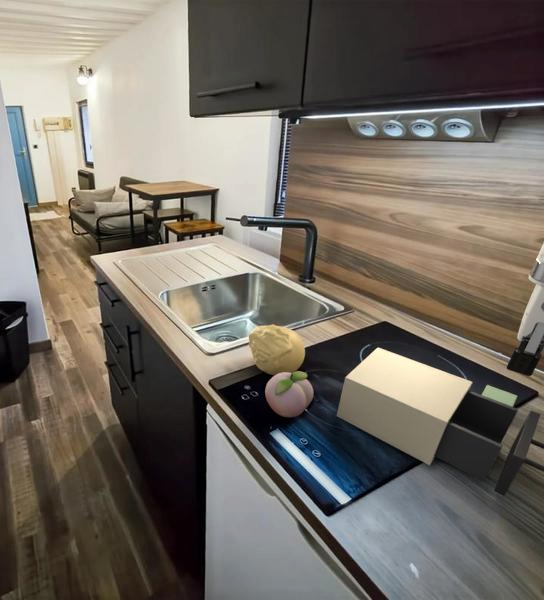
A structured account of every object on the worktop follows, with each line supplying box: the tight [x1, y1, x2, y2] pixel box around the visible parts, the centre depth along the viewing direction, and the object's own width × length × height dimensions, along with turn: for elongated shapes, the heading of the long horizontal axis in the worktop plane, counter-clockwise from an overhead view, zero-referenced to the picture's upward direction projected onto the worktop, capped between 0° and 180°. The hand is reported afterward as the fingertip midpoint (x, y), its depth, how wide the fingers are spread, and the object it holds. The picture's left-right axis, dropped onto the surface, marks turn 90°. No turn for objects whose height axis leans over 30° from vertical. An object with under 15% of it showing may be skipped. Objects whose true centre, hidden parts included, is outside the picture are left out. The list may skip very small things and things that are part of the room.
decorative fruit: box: [264, 370, 314, 418], centre depth 71 cm, size 9×8×10 cm
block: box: [481, 384, 518, 407], centre depth 70 cm, size 4×4×4 cm
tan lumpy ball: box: [248, 323, 306, 377], centre depth 85 cm, size 11×12×11 cm
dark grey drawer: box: [434, 390, 544, 497], centre depth 60 cm, size 20×13×8 cm
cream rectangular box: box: [336, 347, 473, 466], centre depth 69 cm, size 16×15×10 cm
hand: (518, 370), depth 64 cm, fingers closed
